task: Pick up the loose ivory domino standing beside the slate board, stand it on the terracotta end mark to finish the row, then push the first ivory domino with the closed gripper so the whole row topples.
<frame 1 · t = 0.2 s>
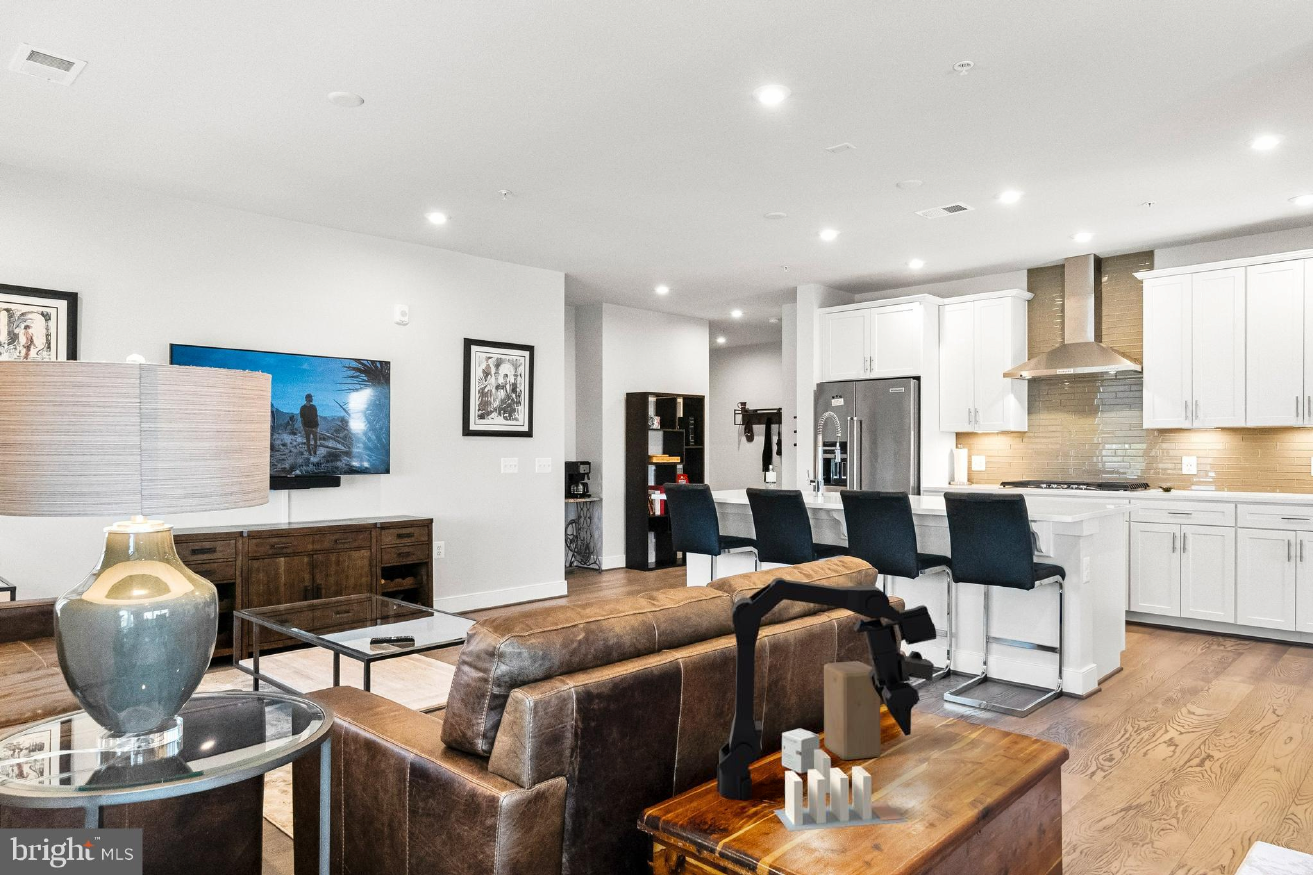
hand: (902, 727, 162), 15 cm above the table, tool pointing down, fingers open, 9 cm apart
skincare box: (800, 767, 182), on the table
domino board: (839, 820, 154), on the table
domino 2: (816, 817, 153), point 1 cm above the table, touching domino board
end domino: (822, 793, 167), on the table
domino 1: (793, 819, 152), point 1 cm above the table, touching domino board
wooden block: (852, 753, 191), on the table
domino 4: (861, 813, 155), point 1 cm above the table, touching domino board
domino 3: (839, 815, 154), point 1 cm above the table, touching domino board
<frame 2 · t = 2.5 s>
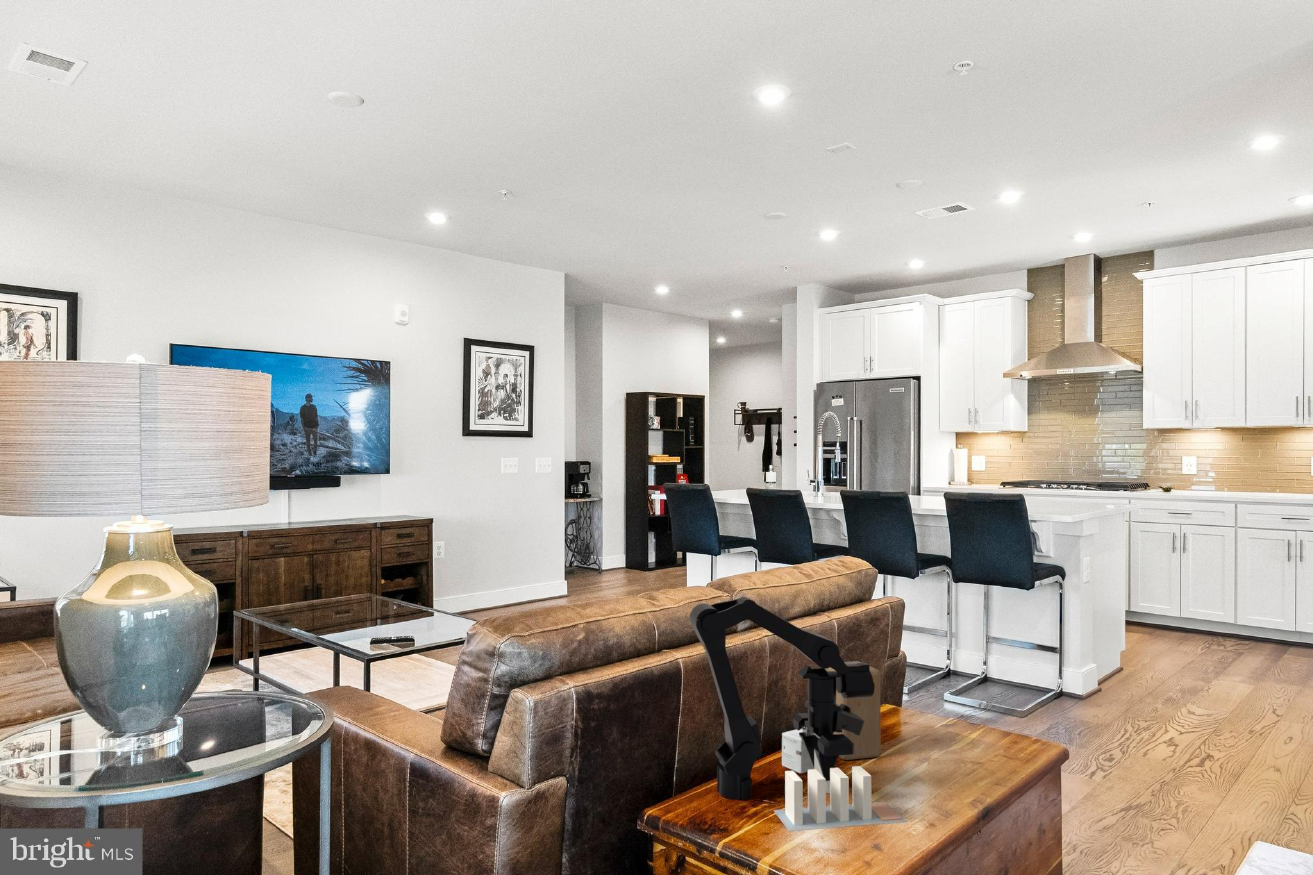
hand: (822, 775, 167), 4 cm above the table, tool pointing down, fingers closed on end domino, 5 cm apart
end domino: (822, 793, 167), on the table, touching gripper
everything else where it was.
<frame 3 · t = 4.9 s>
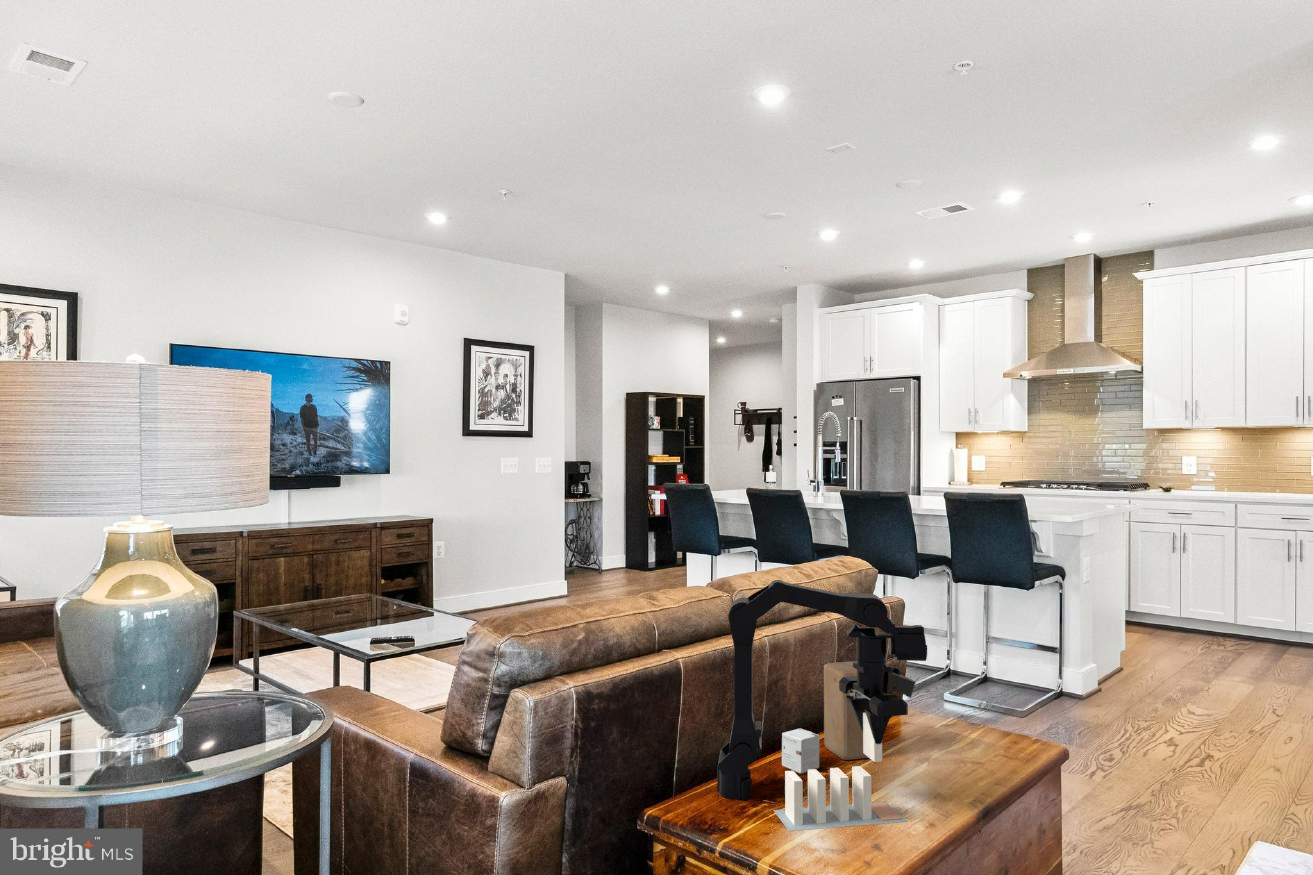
hand: (872, 739, 161), 13 cm above the table, tool pointing down, fingers closed on end domino, 5 cm apart
end domino: (872, 757, 161), point 10 cm above the table, touching gripper
everything else where it was.
when the fingers open (5 cm above the table, at t = 7.6 s): end domino stays where it is, resting on domino board.
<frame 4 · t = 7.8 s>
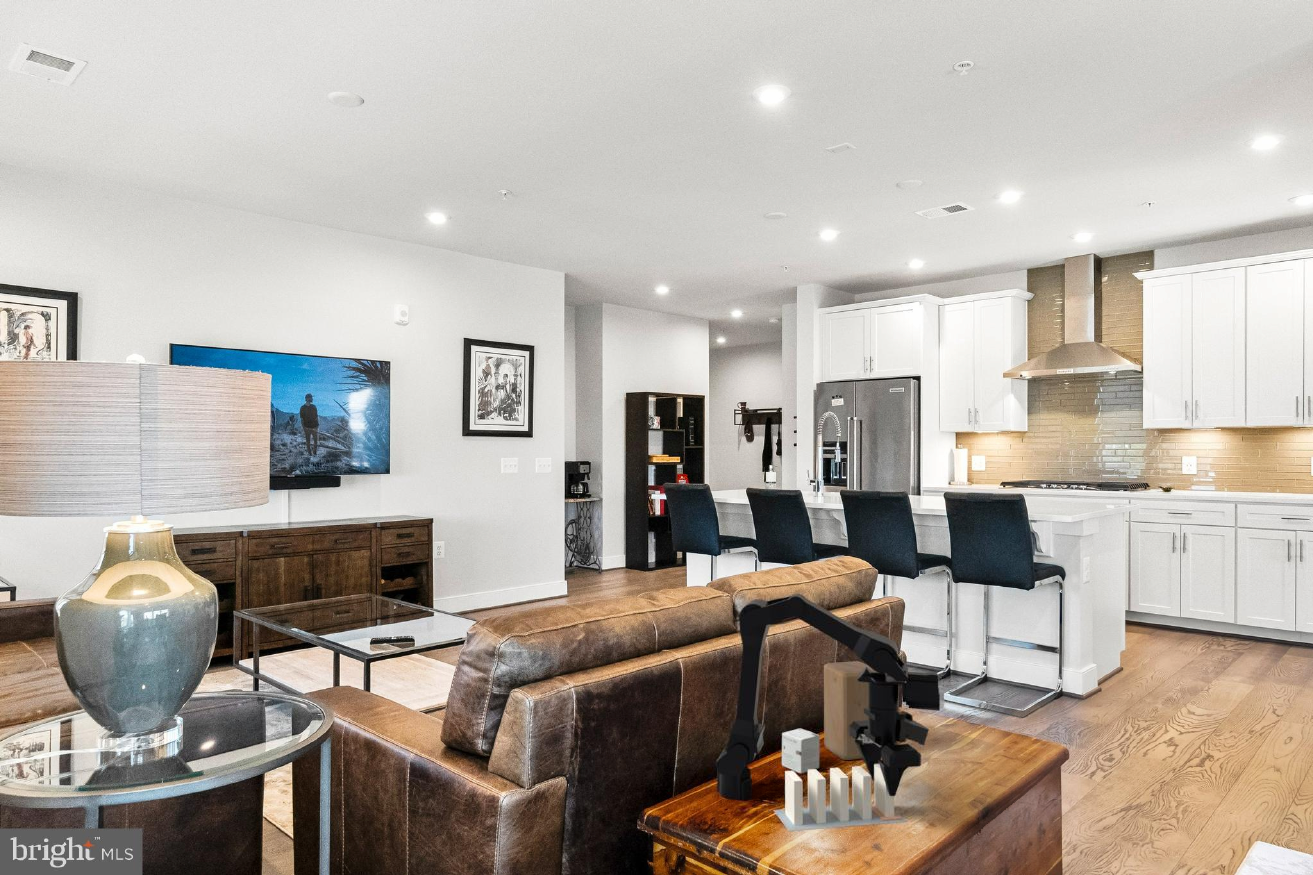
hand: (883, 788, 156), 5 cm above the table, tool pointing down, fingers open, 7 cm apart
end domino: (884, 810, 156), point 1 cm above the table, touching domino board
everything else where it was.
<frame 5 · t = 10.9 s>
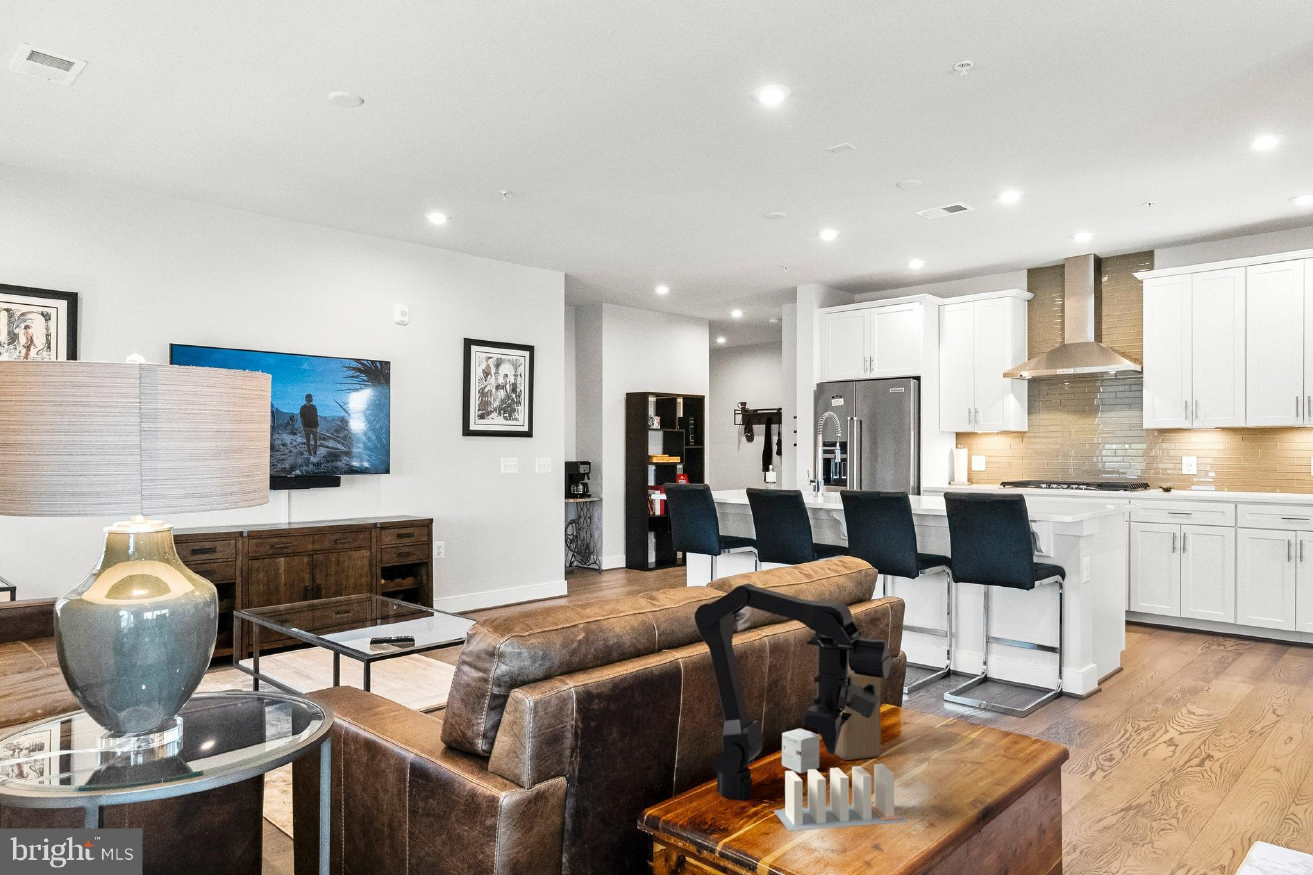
hand: (831, 753, 154), 13 cm above the table, tool pointing down, fingers closed
nothing on the table moved.
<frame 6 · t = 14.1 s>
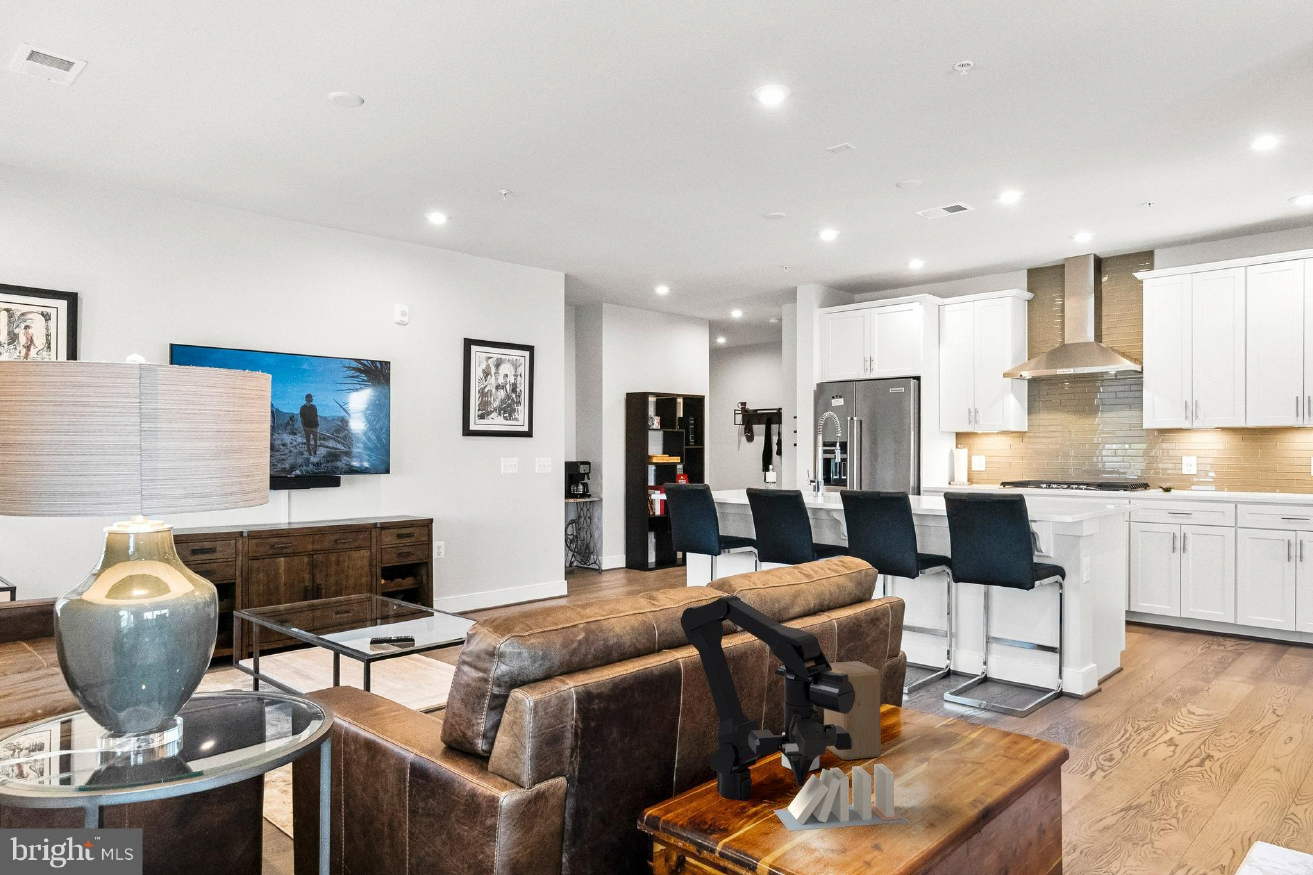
hand: (800, 786, 153), 7 cm above the table, tool pointing down, fingers closed
domino 2: (817, 815, 153), point 1 cm above the table, tilted 22°, touching domino 3
domino 1: (795, 816, 153), point 2 cm above the table, tilted 40°, touching domino board
domino 3: (839, 815, 154), point 1 cm above the table, touching domino 2, domino board
everything else where it was.
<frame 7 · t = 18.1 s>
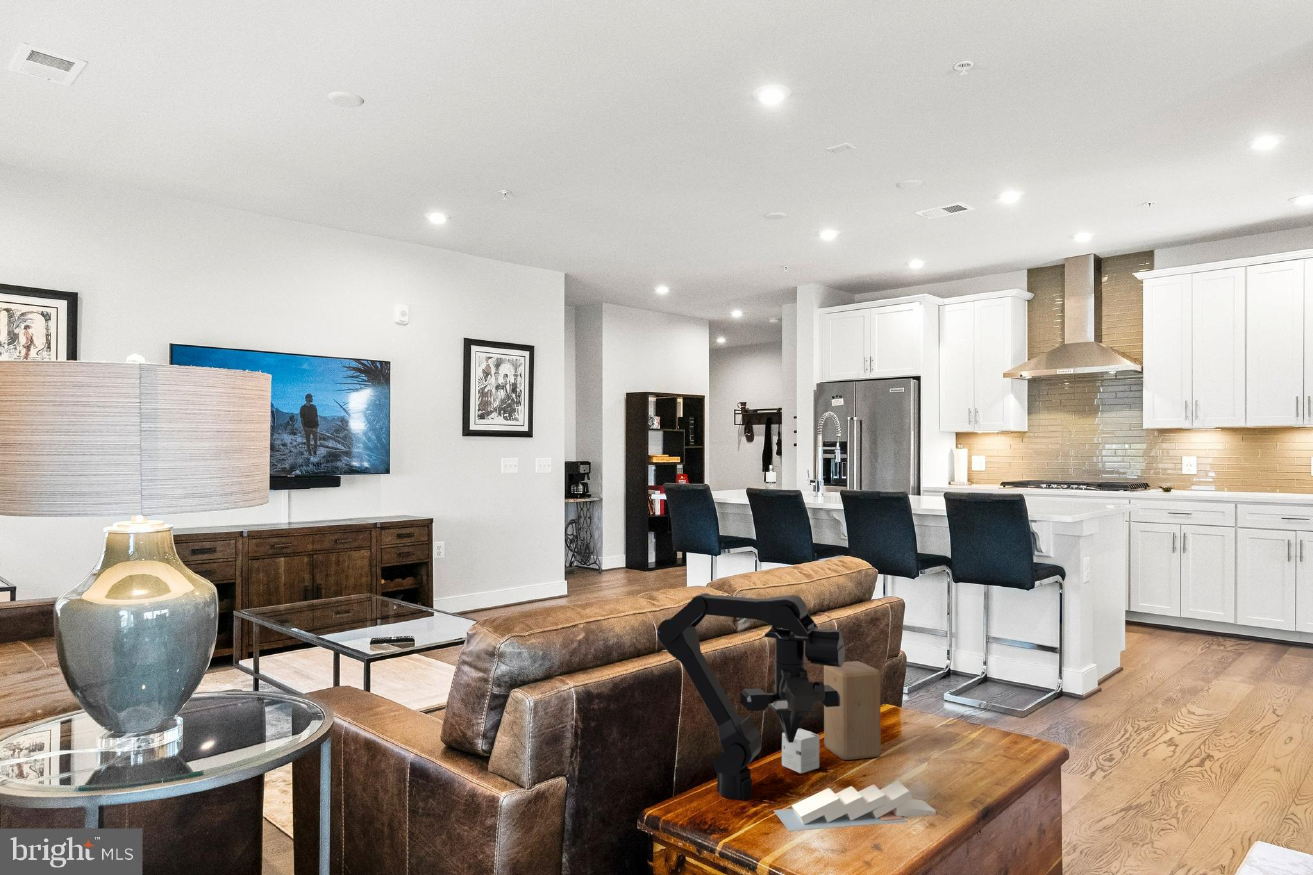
hand: (790, 742, 159), 13 cm above the table, tool pointing down, fingers closed
domino 2: (820, 812, 153), point 2 cm above the table, tilted 69°, touching domino 1, domino 3, domino board
end domino: (890, 805, 156), point 2 cm above the table, tilted 100°, touching domino 4, domino board
domino 1: (797, 814, 153), point 2 cm above the table, tilted 69°, touching domino 2, domino board
domino 4: (868, 809, 155), point 2 cm above the table, tilted 66°, touching domino 3, domino board, end domino
domino 3: (843, 811, 154), point 2 cm above the table, tilted 69°, touching domino 2, domino 4, domino board
everything else where it was.
at the end: end domino tilted 100°; end domino inside the target area on the domino board (0.3 cm from its centre), point 2.1 cm above the domino board's base; domino 4 tilted 66° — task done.
